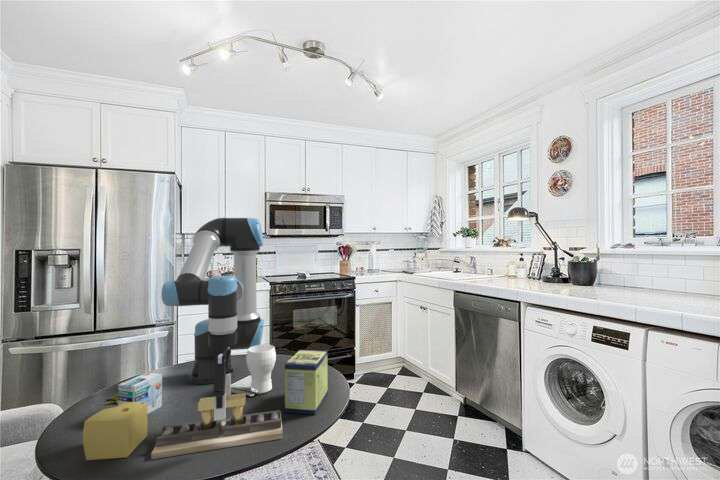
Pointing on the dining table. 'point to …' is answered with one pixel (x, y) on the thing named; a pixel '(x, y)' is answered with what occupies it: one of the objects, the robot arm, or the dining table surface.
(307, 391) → the protein box
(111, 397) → the red green plant
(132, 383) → the light bulb box
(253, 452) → the dining table surface
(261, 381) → the cup
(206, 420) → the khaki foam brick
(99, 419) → the cheese
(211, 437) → the chain jig
